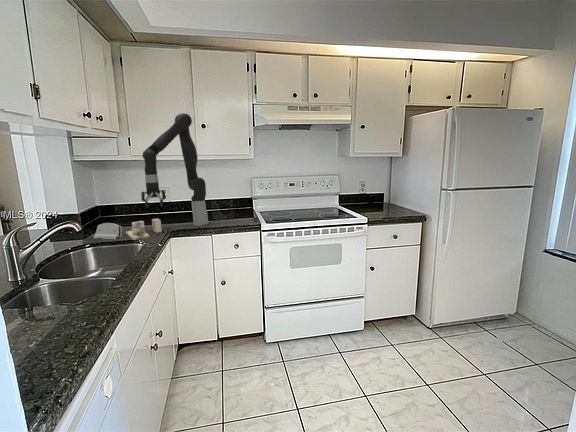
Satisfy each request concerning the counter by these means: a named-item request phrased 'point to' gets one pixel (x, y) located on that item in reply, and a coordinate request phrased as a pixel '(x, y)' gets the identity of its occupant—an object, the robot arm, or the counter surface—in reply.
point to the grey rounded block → (108, 231)
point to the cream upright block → (156, 225)
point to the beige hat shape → (137, 231)
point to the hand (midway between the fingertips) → (154, 206)
